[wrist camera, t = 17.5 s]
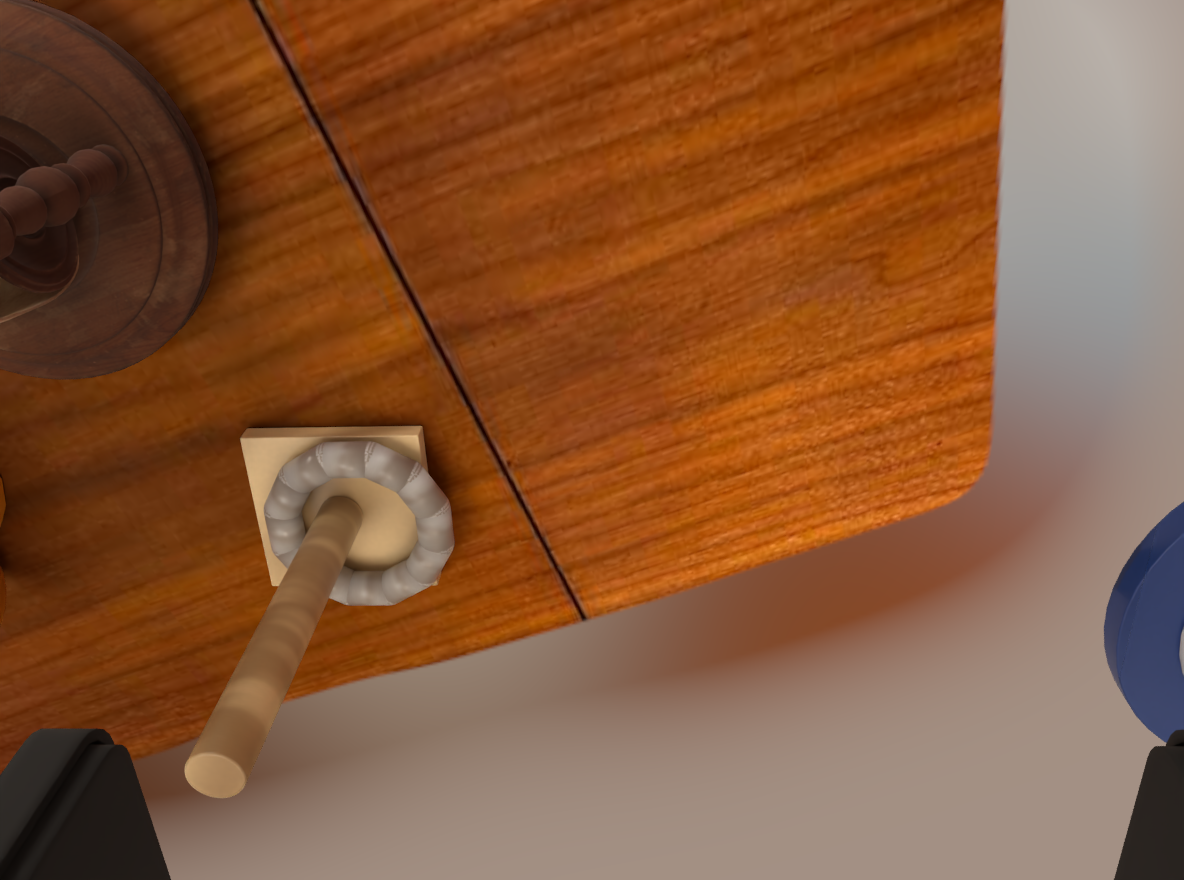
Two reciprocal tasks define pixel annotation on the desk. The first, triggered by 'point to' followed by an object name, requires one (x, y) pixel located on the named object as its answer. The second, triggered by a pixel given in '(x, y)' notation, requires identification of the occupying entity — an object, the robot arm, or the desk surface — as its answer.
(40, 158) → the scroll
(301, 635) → the wooden peg stand
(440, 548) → the ring
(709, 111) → the desk surface
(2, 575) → the mug
